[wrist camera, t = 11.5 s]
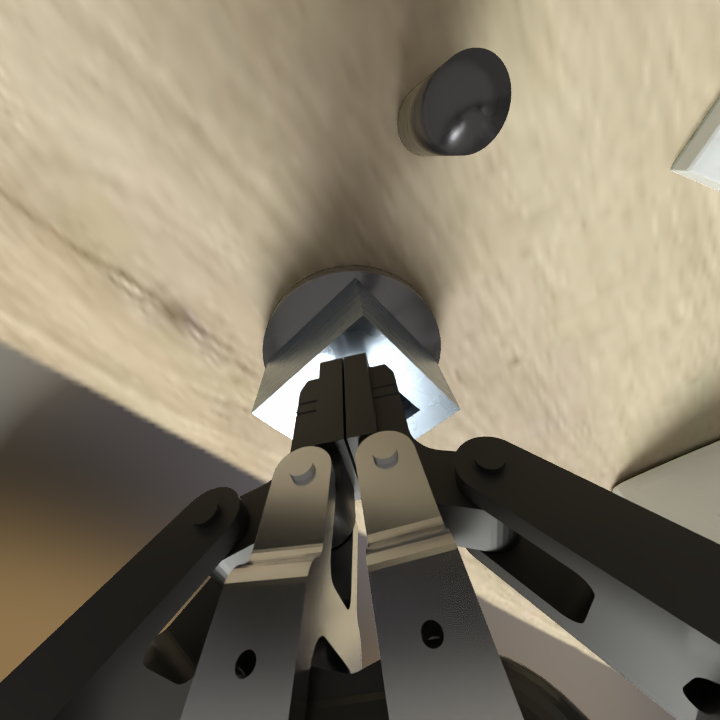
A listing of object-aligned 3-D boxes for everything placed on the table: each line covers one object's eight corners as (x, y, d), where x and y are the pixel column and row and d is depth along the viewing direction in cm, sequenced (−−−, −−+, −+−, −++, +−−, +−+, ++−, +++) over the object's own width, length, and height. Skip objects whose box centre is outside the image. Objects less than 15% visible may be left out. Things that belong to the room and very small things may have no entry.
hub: (426, 244, 15) (458, 275, 11) (442, 395, 19) (468, 453, 16) (237, 290, 15) (205, 335, 11) (298, 426, 20) (290, 489, 16)
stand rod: (453, 76, 12) (513, 36, 8) (456, 147, 13) (509, 144, 9) (393, 92, 12) (422, 61, 8) (402, 162, 13) (431, 164, 9)
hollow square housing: (355, 277, 14) (362, 314, 11) (434, 358, 17) (460, 409, 13) (268, 359, 16) (251, 413, 13) (351, 420, 19) (355, 479, 15)
